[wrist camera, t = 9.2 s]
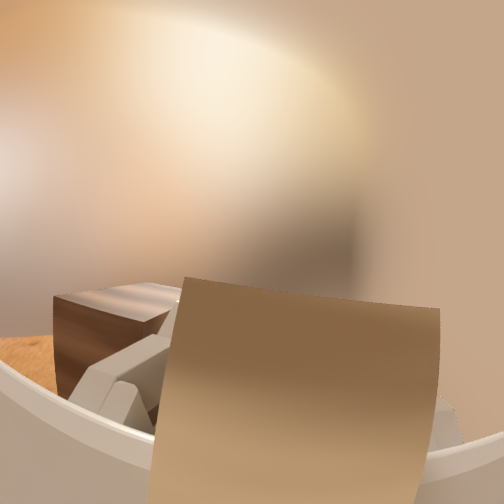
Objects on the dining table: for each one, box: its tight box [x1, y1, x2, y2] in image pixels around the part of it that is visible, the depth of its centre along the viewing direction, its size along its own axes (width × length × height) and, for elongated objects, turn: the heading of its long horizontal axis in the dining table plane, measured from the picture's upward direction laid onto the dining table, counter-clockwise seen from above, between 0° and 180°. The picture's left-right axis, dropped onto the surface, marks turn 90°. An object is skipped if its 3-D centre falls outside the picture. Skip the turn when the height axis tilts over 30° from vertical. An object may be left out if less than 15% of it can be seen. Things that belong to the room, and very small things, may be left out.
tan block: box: [148, 277, 440, 504], centre depth 14 cm, size 24×4×4 cm, turn 177°
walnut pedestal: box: [53, 282, 182, 427], centre depth 22 cm, size 16×7×26 cm, turn 177°
